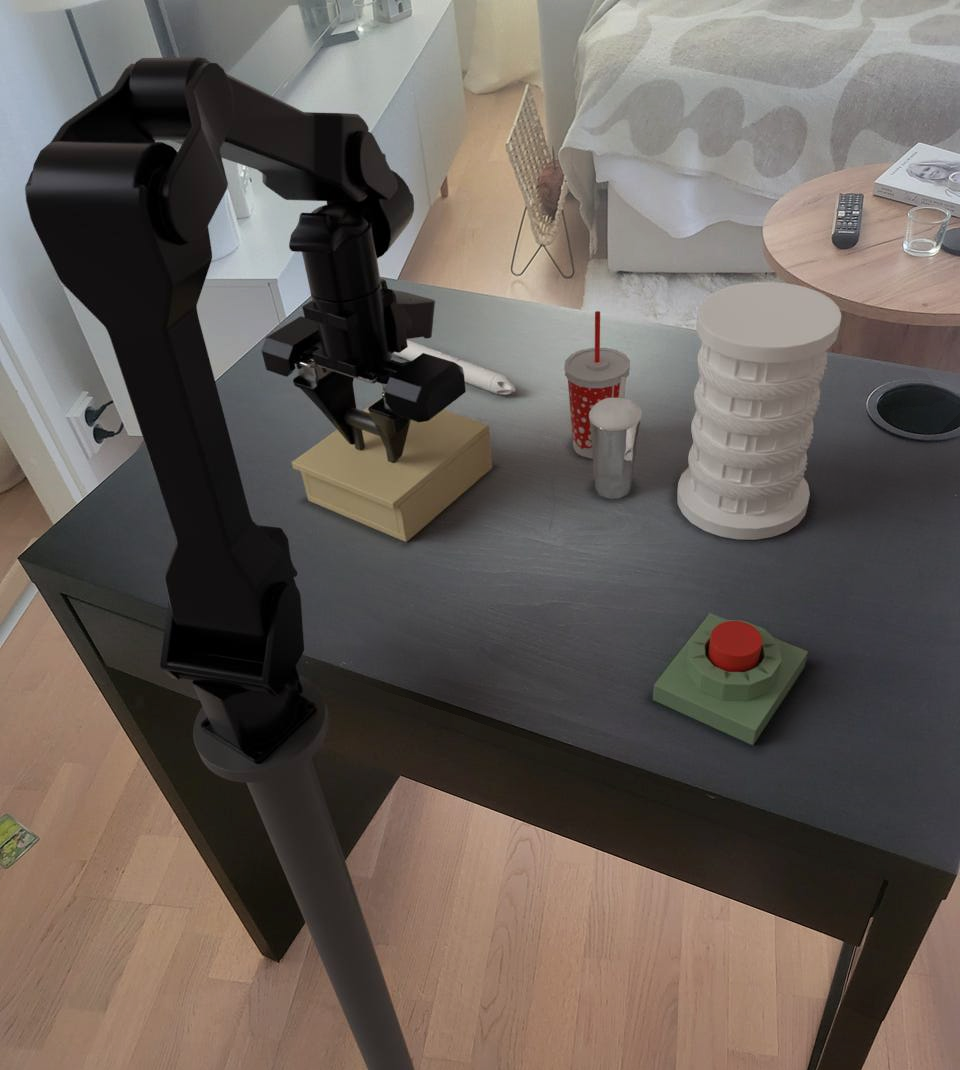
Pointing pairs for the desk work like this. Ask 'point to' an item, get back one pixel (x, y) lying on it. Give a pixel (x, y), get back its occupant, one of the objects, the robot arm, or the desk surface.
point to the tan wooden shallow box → (415, 507)
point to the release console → (729, 684)
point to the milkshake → (614, 443)
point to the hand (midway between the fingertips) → (375, 450)
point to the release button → (735, 646)
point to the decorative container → (755, 407)
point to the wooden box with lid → (371, 464)
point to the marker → (464, 369)
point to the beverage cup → (592, 385)
